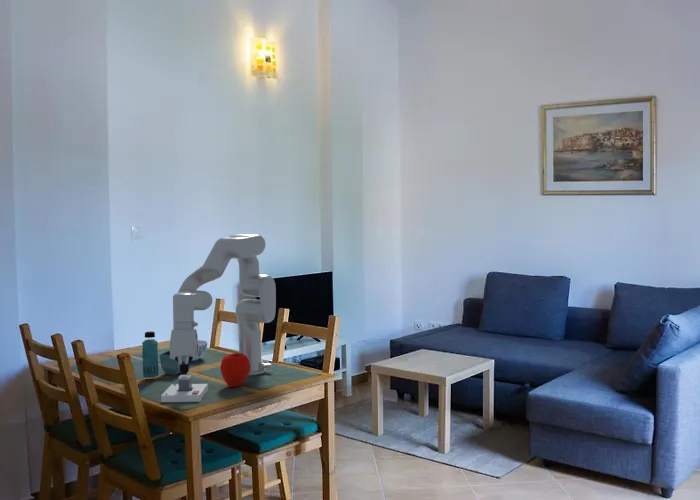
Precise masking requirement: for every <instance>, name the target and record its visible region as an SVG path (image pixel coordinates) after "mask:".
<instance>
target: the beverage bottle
mask: <svg viewBox="0 0 700 500" xmlns="http://www.w3.org/2000/svg"><path fill="white" fill-rule="evenodd" d="M155 333H156V332H155V331H144V338H146V339H144V341H142V343H141V344H142V345H141V347H142V349H141V351H142V352H141V354H142V355H141V357H142V376H143V378H149V379H150V378H151V379H152V378H156V377H159V366H160V365H159V362H160V360H159V348H158V347H159V343H158V341H157V340H156V339H154V338H155V337H156V334H155Z"/></svg>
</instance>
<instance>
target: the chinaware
mask: <svg viewBox="0 0 700 500" xmlns="http://www.w3.org/2000/svg"><path fill="white" fill-rule="evenodd" d="M198 346H199V351H198V355H199V357H198V358H197V359H193V360H191V361H190V362H195V361H198V360H199V359H200V357H202V356H203V354H205V352H206V351H207V347H208V341H206V340H200V339H198ZM190 357H191V356H190Z"/></svg>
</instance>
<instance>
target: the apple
mask: <svg viewBox="0 0 700 500" xmlns="http://www.w3.org/2000/svg"><path fill="white" fill-rule="evenodd" d="M249 372H250V362H249V360H248V358H247V356H246V355H244V354H242V353H239V352H235V353H229V354H226V355H225V356H223V358H222V360H221V364H220V374H221V376H222V379H223V380H224V382H225V384H226V385H227V386H228V387H230V388H236V387H240V386H242V385H243V384H244V382H245V381H246V379H247V378H248V377H249V375H248V374H249Z"/></svg>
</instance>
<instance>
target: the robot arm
mask: <svg viewBox="0 0 700 500" xmlns="http://www.w3.org/2000/svg"><path fill="white" fill-rule="evenodd" d="M265 248H266V240H265V238H264V237H263V236H262V235H260V234H249V233H248V234H246V233H245V234H244V233H239V234H237V233H236V234H235V233H234V234H231V235H230V236H228V237H220V238H218V239H217V240H216V241H215V243H214V244H213V246H212V248H211V250H210V251H209V254H208V256H207V257H206V259H205V260H204V262H203V264H202V265H201V266H200V267H199V268H197V269H196V270H195V271H194V272H192V273H191V274H189V275H188V276H186V278H185V279H184V281H183V282H182V283H181V286H180V287H179V290H178V292H177V293H175V294H173V296H172V319H173V320H172V323H173V324H172V327H173V328H172V329H171V331H170V332H171V333H170V339H169V351H170V359H175V360H176V361H177V362H178V363H179V364H180V375H188V373H189V371H190V367H189V365H190V363H191V362H192V361H191V360H193V359H197V358H198V357H199V355H198V351H199V346H198V340H199V338H198V331H197V328H195V327H198V326H199V325H198V324H199V323H198V322H195V318H194V315H195V314H194V313H195V312H194V311H205V310H207V309H210V307H211V306H212V304H213V296H212V294H211V293H209V292H208V291H205V290H198V289H199V288H200V287H201V286H203V285H205V284H207V283H209V282H212V281H215V280H217V279H220V278H222V276H223V274H224V273H225V270H226V269H227V267H228V265H229V263H230V261H231V260H233V259H237V262H238V271H239V272H238V274H239V275H238V278H239V281H238V285H239V286H238V287H239V292H240V295H241V294H242V295H243V296H246V297H254V298H253V299H252V298H251V299H250V298H245V299H241V300H239V302H237V304H236V307H235V316H236V319H237V326H238V353H242V354H244V355H246V356H247V358H248V360H249V362H250V372H249V374H248V376H258V375H262V374H265V372H266V369H272V368H273V366H272V365H273V364H272V363H269V362H267V363H265V362H264V360H263V359H262V331H261V327H260V325H259V323H263V324H268V323H271V322H273V320H274V319H275V317H276V311H277V310H276V308H277V307H276V306H277V301H276V300H277V297H276V296H277V292H276V291H277V289H276V288H277V287H276V282H275V279H274V278H273V277H272V276H271V275H268V274H262V273H261V274H260V261H259V259H258V256H260V255H261V254H262V253H264V251H265V250H266V249H265ZM255 297H256V298H257V297H259V299H255ZM183 356H186V359H185V363H184V361H183ZM190 356H191V357H190ZM199 358H200V357H199Z"/></svg>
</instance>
